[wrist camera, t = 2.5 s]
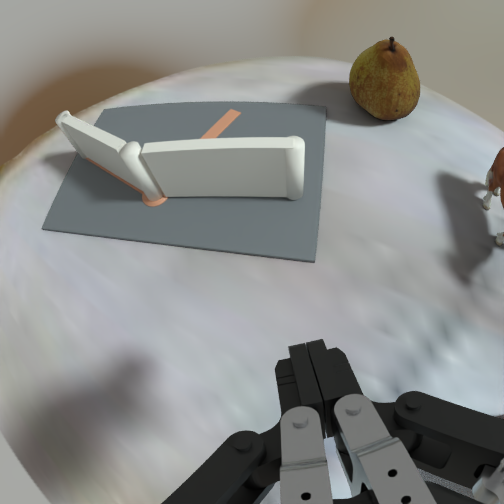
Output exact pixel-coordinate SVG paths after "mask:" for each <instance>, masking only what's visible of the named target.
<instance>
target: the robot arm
mask: <svg viewBox="0 0 504 504" xmlns="http://www.w3.org/2000/svg"><path fill="white" fill-rule="evenodd" d="M288 348H289V354H290V358H288V359H283V360H278V363H277V365H276V367H275V374H276V380H277V386H278V393H279V400H280V406H281V418H280V420H279V422H278V423H277V425H275V426H274V427H273V428H272V429H270V430H268V431H266V432H263V433H261V434H258V433H256V432H253V431H239V432H236V433H234V434H232V435H231V436H230V437H229V438H227V440H226V441H225V442H224V443H223V444H222V445H221V446H220V447H219V448H218V449H217V450H216V451H215V452H214V453H213V454H212V455H211V456H210V457H209V458H208V459H207V460H206V461H205V462H204V463H203V464H202V465H201V466H200V467H199V468H198V469H197V470H196V471H195V472H194V473H193V474H192V475H191V476H190V477H189V478H188V479H187V480H186V481H185V482H184V483H183V484H182V485H181V486H180V487H179V488H178V489H177V490H176V491H174V492H173V493H172V494H171V495H170V496H169V497H168V498H167V499H166V500H165V501H164V502H163V503H161V504H260V502H261V501H262V500H263V499H264V498H265V496H266V495H267V494H268V493H269V491H270V490H271V489H272V488H273V486H274V484H275V482H277V481H280V494H281V504H504V419H501V418H497V417H494V416H491V415H487V414H484V413H481V412H478V411H475V410H472V409H469V408H466V407H463V406H460V405H457V404H454V403H451V402H448V401H445V400H442V399H439V398H436V397H433V396H430V395H428V394H425V393H422V392H418V391H410V392H406V393H404V394H402V395H401V396H399V397H398V398H397V400H396V402H391V403H378V402H373V401H371V400H370V399H369V398H367V397H366V396H364V395H363V393H362V391H361V388H360V386H359V384H358V382H357V379H356V377H355V375H354V373H353V371H352V369H351V366H350V364H349V362H348V360H347V357H346V355H345V353H343V352H342V351H341V350H340V349H338V348H337V347H336V348H332V349H328V350H327V349H326V346H325V343H324V341H323V339H320V340H316V341H311V342H307V343H306V345H305V343H302V344H298V345H293V346H288ZM325 431H326V434H327V438H329V437H333V436H334V440H335V443H336V453H337V455H338V458H339V460H340V463H341V466H342V468H343V471H344V473H345V476H346V478H347V481H348V483H349V486H350V490H351V495H352V498H349V499H332V493H331V485H330V478H329V471H328V465H327V460H326V456H325V449H324V439H325V438H326V434H325ZM416 467H417V468H419V469H422V470H424V471H426V472H429V473H431V474H434V475H436V476H439V477H441V478H444V479H446V480H449V481H452V482H454V483H457V484H460V485H462V486H465V487H468V488H471V489H472V494H473V497H474V498H475V500H474V499H472V498H469V497H467V496H464V495H462V494H459V493H457V492H455V491H452V490H450V489H448V488H445V487H443V486H441V485H438V484H436V483H433V482H429V481H424V480H423V478H422V476H421V475H420V473H419V471H418V469H417V468H416Z"/></svg>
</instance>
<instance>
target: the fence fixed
mask: <svg viewBox="0 0 504 504" xmlns="http://www.w3.org/2000/svg"><path fill="white" fill-rule="evenodd" d="M55 121H56V123H57V124H58V126H59V127H60V129H61V130H62V131H63V133H64V134H65V136H66V137H67V138H68V140H69V141H70V142H71V144H72V145H73V147H74V148H75V149H76V151H77V152H78V153H79V155H80V156H81V157H82V158H83V159H86V158H89V159H91V160H93V161H94V162H96V163H97V164H99V165H101V166H102V167H104V168H106V169H107V170H109V171H110V172H112V173H114V174H115V175H117V176H119V177H120V178H122V179H124V180H125V181H127V182H128V183H130V184H132V185H133V186H135V187H137V188H138V189H140V190H141V191H143V192H144V193H145V195H146V196H147V198H148V199H149V200H150V201H157V200H159V199H161V198H162V197H163V195H164V193H163V191H162V189H161V188H160V186H159V184H158V182H157V181H156V179H155V177H154V175H153V174H152V172H151V170H150V168H149V167H148V165H147V163H146V161H145V160H144V158H143V156H142V154H141V152H142V149H141V147H140V145H139V143H138V142H135V141H132V142H129V143H126V142H125V140H122V139H120V138H118V137H116V136H114V135H112V134H110V133H108V132H106V131H103V130H101V129H99V128H97V127H95V126H93V125H90V124H88V123H86V122H84V121H82V120H80V119H77V118H75V117H73V116H71V114H70V113H69V112H68V111H64V112H62V113H61V114H59V115H58V116H57V118H56V120H55Z"/></svg>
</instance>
